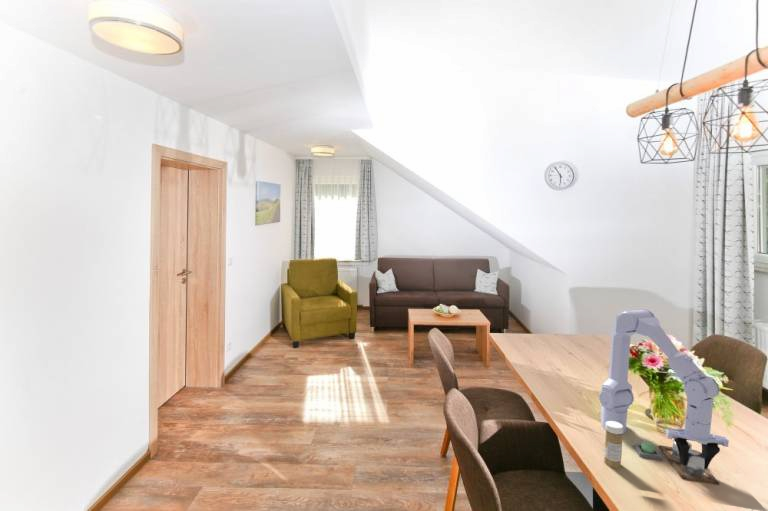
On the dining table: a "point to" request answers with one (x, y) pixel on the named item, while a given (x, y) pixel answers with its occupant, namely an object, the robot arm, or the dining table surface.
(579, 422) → the dining table surface
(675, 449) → the seated billet
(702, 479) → the pallet
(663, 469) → the dining table surface
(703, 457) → the cylinder
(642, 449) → the button
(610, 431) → the sprinkles bottle
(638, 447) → the grey square frame
